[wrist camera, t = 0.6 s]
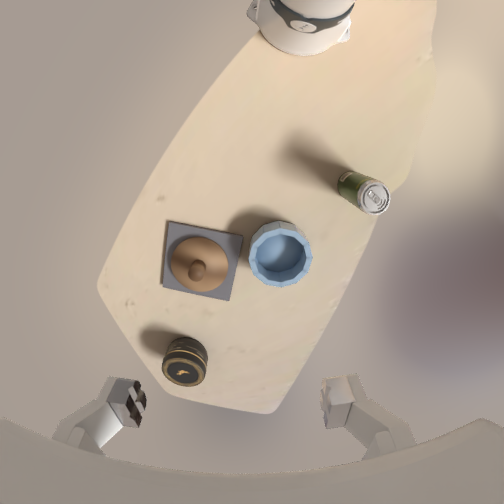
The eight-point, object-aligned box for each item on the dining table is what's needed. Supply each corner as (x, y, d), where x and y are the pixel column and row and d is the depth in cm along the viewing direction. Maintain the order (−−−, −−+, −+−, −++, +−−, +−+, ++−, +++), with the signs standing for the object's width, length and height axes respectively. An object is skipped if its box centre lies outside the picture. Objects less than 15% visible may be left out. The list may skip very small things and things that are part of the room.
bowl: (256, 215, 51) (257, 223, 47) (313, 227, 52) (319, 236, 48) (244, 268, 55) (243, 280, 51) (297, 278, 56) (301, 291, 52)
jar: (160, 348, 64) (152, 370, 57) (185, 328, 61) (178, 350, 54) (192, 370, 67) (186, 392, 59) (217, 352, 64) (214, 375, 57)
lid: (175, 231, 52) (168, 240, 47) (233, 243, 53) (231, 252, 48) (170, 282, 56) (163, 294, 51) (223, 293, 57) (220, 306, 52)
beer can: (330, 187, 49) (352, 201, 38) (348, 164, 48) (374, 173, 36) (351, 205, 50) (376, 223, 39) (368, 183, 49) (398, 196, 38)
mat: (170, 221, 52) (169, 222, 51) (243, 235, 53) (243, 237, 52) (163, 285, 57) (162, 287, 56) (229, 299, 58) (229, 301, 57)
